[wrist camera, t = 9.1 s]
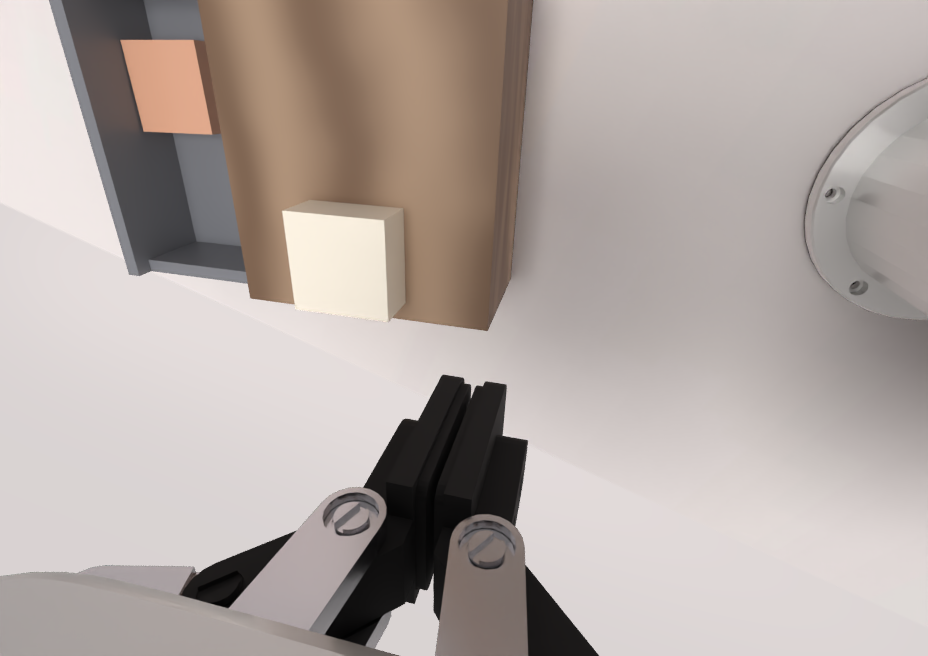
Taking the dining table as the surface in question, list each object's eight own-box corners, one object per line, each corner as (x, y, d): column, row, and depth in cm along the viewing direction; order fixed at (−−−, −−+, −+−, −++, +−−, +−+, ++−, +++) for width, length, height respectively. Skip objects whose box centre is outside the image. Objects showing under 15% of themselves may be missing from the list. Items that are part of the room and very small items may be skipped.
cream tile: (403, 208, 24) (383, 220, 21) (405, 302, 26) (388, 322, 24) (309, 199, 25) (282, 210, 22) (319, 291, 27) (295, 309, 25)
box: (288, -21, 28) (217, -47, 22) (318, 263, 35) (271, 293, 30) (134, -20, 30) (36, -43, 25) (194, 248, 37) (129, 274, 32)
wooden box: (534, -11, 25) (511, -49, 18) (510, 278, 32) (487, 330, 25) (290, -10, 28) (189, -44, 21) (318, 256, 35) (250, 298, 28)
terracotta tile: (120, 40, 28) (154, 43, 31) (143, 131, 31) (173, 128, 33) (193, 39, 27) (222, 43, 30) (212, 134, 30) (238, 131, 32)
